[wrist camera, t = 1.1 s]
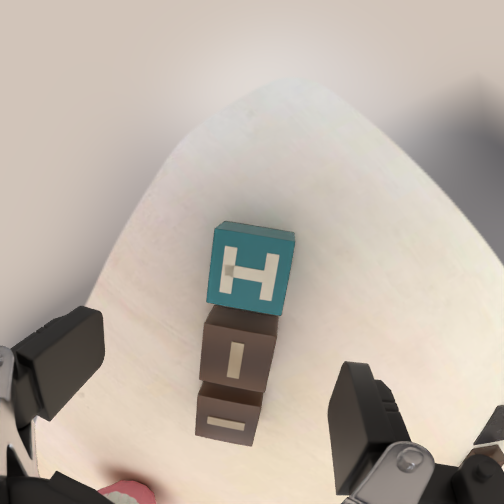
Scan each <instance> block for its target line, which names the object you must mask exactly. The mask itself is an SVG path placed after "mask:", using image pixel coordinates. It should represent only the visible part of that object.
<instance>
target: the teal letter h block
mask: <svg viewBox="0 0 504 504" xmlns="http://www.w3.org/2000/svg"><path fill="white" fill-rule="evenodd" d="M294 247H295V236H294V232H288V231H283V230H277V229H271V228H265V227H259V226H253V225H247V224H240V223H234V222H228V221H224V222H223V223H222V224H220V225H219V226H218V227H216V228H215V230H214V238H213V246H212V255H211V263H210V272H209V281H208V290H207V300H206V302H207V303H212V304H217V305H223V306H228V307H233V308H239V309H244V310H249V311H255V312H261V313H267V314H272V315H278V316H281V315H282V310H283V305H284V300H285V295H286V290H287V284H288V279H289V274H290V269H291V263H292V258H293V253H294Z"/></svg>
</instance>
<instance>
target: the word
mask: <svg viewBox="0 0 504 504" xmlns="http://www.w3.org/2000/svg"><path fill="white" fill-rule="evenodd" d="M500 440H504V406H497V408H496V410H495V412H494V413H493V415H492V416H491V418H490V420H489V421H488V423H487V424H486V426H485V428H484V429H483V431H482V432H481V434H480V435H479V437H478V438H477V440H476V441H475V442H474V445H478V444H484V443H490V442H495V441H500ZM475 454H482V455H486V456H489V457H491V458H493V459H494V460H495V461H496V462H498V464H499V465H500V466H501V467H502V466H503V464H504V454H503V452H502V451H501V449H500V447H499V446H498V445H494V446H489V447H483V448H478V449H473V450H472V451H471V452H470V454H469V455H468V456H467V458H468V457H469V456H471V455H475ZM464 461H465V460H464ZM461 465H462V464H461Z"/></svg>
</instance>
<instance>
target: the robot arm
mask: <svg viewBox="0 0 504 504" xmlns="http://www.w3.org/2000/svg"><path fill="white" fill-rule="evenodd" d="M104 356H105V344H104V328H103V316H102V313H101V312H100V311H98V310H94V309H91V308H88V307H84V306H79V307H77V308H76V309H74V310H73V311H71V312H70V313H69V314H67V315H65V316H62V317H58V318H55V319H53V320H51V321H50V322H48V323H47V324H46V325H44V327H41V328H40V329H38V330H37V331H36V333H35V332H34V333H32V334H31V335H29V336H28V337H26V338H25V339H24V340H22V341H21V342H19V343H18V344H16V345H15V346H14V347H12V348H11V349H9V348H7V347H4V346H0V504H115V503H113V502H112V501H110V500H109V499H107V498H106V497H105V496H103V495H102V494H100V493H99V492H98V491H96V490H95V489H93V488H91V487H88V486H86V485H84V484H82V483H80V482H78V481H76V480H74V479H72V478H70V477H68V476H66V475H64V474H62V473H60V472H58V471H56V472H55V473H54V475H53V476H52V477H51V479H50V480H49V479H44V478H40V475H39V471H38V465H37V454H36V440H35V424H34V421H33V418H34V417H35V416H36V415H38V416H40V417H42V418H43V419H45V420H47V421H49V422H50V421H51V420H52V419H53V418H54V416H55V415H56V414H57V413H58V412H59V411H60V410H61V409H62V408H63V407H64V405H65V404H66V403H67V402H68V401H69V400H70V399H71V398H72V397H73V396H74V394H75V393H76V392H77V391H78V390H79V389H80V388H81V387H82V386H83V385H84V384H85V383H86V381H87V380H88V379H89V378H90V377H91V376H92V375H93V374H94V373H95V372H96V371H97V370H98V369H99V368H100V366H101V365H102V363H103V360H104ZM398 411H399V409H398V406H397V404H396V403H395V399H394V397H393V394H392V392H391V390H390V389H389V388H388V387H387V386H386V385H385V384H384V383H383V382H382V381H381V380H374V377H373V375H372V372H371V369H370V367H369V365H368V364H366V363H357V362H347V361H345V362H344V363H343V365H342V367H341V370H340V373H339V376H338V379H337V382H336V384H335V387H334V390H333V393H332V396H331V398H330V402H329V406H328V424H329V432H330V440H331V449H332V458H333V467H334V477H335V487H336V495H349V497H347V498H346V499H345V500H344V501H343V502H342V503H341V504H504V472H503V470H502V468H501V466H500V465H499V464H498V462H496V461H495V460H494V459H493V458H491V457H489V456H486V455H482V454H475V455H471V456H469V457H468V458H466V459H465V461H464V462H463V463H462V465H461V466H460V467H455V466H448V465H442V464H437V463H435V462H434V458H433V456H432V455H431V453H430V452H429V451H428V450H427V449H426V448H424V447H423V446H421V445H419V444H416V443H413V442H411V439H410V437H409V434H408V431H407V429H406V426H405V424H404V421H403V419H402V416H401V414H400V412H398Z"/></svg>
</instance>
